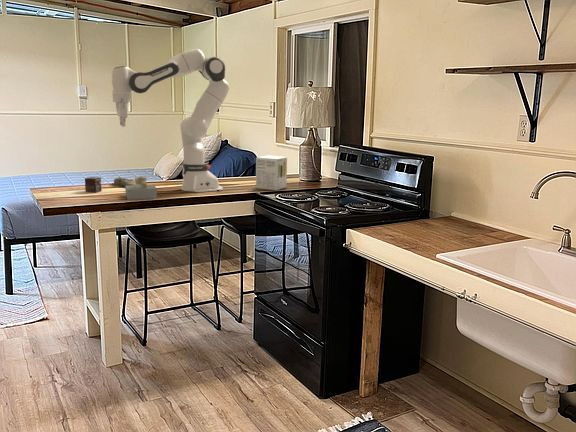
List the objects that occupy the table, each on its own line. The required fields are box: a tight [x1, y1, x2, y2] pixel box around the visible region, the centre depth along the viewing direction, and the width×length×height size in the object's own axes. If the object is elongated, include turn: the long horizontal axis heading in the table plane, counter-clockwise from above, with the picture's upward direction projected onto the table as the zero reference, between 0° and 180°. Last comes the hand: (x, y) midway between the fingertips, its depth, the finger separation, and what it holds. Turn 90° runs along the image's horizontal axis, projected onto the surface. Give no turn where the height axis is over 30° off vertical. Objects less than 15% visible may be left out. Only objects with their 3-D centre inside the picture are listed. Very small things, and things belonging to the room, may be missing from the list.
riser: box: [124, 184, 158, 201], centre depth 281 cm, size 14×12×5 cm
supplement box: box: [255, 155, 288, 191], centre depth 315 cm, size 13×13×18 cm
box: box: [84, 176, 103, 194], centre depth 293 cm, size 6×6×7 cm
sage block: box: [134, 176, 148, 188], centre depth 280 cm, size 5×5×5 cm
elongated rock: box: [113, 176, 135, 188], centre depth 310 cm, size 35×5×10 cm
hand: (122, 126), depth 290 cm, fingers open, 8 cm apart
